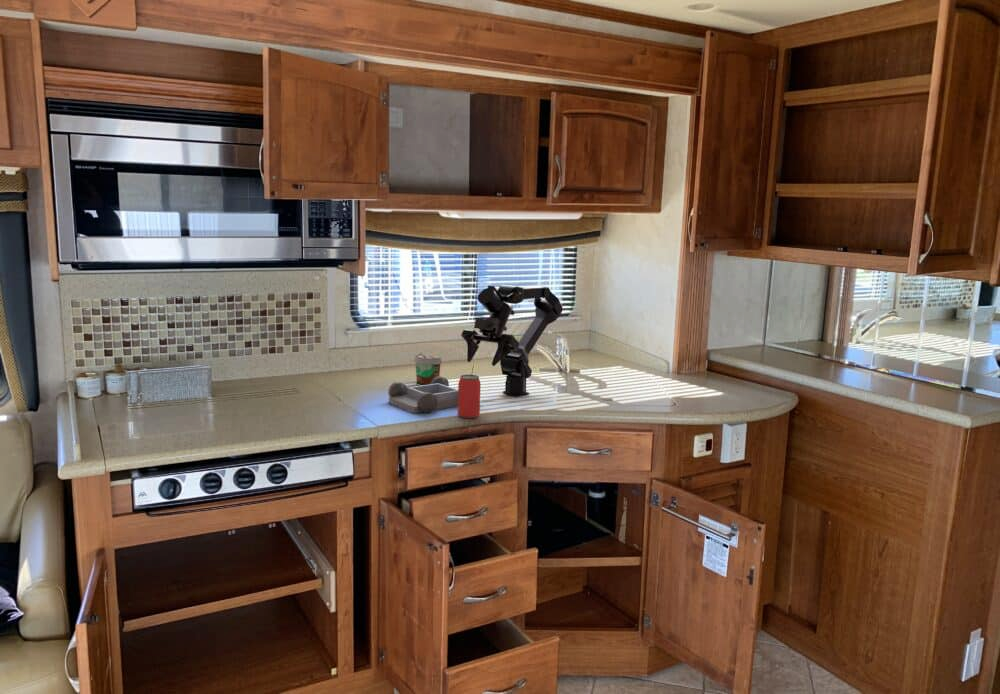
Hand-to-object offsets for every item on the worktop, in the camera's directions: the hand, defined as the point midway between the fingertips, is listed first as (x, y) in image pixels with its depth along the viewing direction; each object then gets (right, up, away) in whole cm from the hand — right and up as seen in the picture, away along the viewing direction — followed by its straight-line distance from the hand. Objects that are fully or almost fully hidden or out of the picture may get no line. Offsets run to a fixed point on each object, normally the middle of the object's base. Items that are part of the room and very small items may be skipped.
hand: (480, 363), depth 243 cm
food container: (-20, -8, +29) cm, 36 cm away
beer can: (-3, -16, -9) cm, 18 cm away
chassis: (-15, -13, +4) cm, 20 cm away
